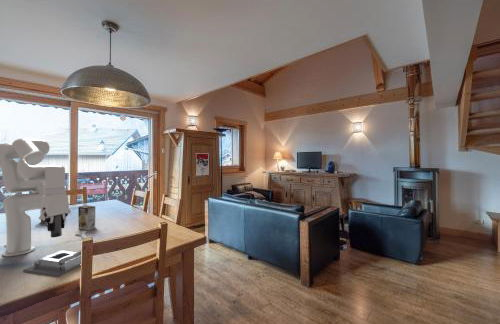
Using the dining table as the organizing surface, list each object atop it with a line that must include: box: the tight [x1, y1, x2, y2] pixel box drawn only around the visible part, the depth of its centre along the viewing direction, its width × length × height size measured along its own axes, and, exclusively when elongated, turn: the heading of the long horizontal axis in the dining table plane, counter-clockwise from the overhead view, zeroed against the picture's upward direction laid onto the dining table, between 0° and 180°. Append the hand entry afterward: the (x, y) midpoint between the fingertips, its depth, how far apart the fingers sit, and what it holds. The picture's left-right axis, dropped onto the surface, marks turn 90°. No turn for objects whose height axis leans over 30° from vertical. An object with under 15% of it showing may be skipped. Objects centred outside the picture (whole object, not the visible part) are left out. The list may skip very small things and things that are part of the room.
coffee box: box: [77, 205, 96, 231], centre depth 166 cm, size 9×6×16 cm
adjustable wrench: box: [74, 230, 88, 240], centre depth 147 cm, size 25×6×2 cm, turn 42°
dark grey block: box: [50, 215, 63, 238], centre depth 109 cm, size 4×4×10 cm
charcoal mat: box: [22, 264, 81, 278], centre depth 110 cm, size 20×16×1 cm
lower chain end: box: [33, 257, 63, 270], centre depth 110 cm, size 15×11×3 cm
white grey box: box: [38, 250, 82, 271], centre depth 109 cm, size 15×11×5 cm
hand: (56, 229), depth 109 cm, fingers closed on dark grey block, 4 cm apart
